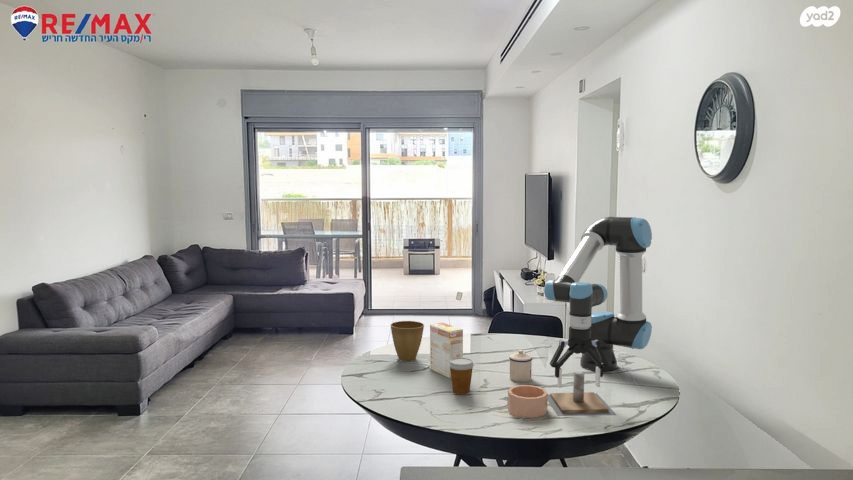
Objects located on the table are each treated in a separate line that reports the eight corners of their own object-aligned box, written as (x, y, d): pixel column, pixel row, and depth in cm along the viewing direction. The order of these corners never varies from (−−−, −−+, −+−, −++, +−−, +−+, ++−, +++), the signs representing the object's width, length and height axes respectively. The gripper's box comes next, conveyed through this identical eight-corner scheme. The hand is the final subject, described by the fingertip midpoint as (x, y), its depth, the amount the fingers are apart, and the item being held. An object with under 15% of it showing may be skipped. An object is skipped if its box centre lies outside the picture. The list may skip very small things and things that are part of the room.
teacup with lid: (535, 381, 232) (536, 352, 231) (514, 383, 230) (514, 354, 229) (523, 371, 244) (523, 344, 243) (503, 373, 242) (503, 346, 241)
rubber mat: (596, 394, 217) (596, 393, 217) (616, 416, 197) (616, 414, 197) (543, 396, 216) (543, 394, 216) (557, 417, 197) (557, 415, 197)
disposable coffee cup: (447, 387, 226) (447, 357, 224) (471, 387, 226) (471, 356, 225) (450, 396, 216) (450, 365, 215) (475, 395, 217) (475, 364, 216)
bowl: (541, 403, 209) (541, 384, 208) (550, 418, 196) (551, 398, 195) (505, 404, 208) (505, 385, 208) (512, 419, 196) (512, 398, 195)
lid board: (593, 395, 215) (594, 365, 214) (608, 412, 199) (609, 380, 198) (550, 396, 215) (550, 366, 213) (562, 413, 199) (562, 381, 198)
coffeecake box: (463, 375, 240) (463, 329, 238) (449, 379, 236) (449, 331, 234) (443, 366, 252) (443, 321, 250) (429, 369, 248) (429, 324, 247)
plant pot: (412, 366, 252) (412, 330, 251) (384, 360, 260) (383, 325, 258) (430, 357, 265) (430, 322, 263) (403, 352, 272) (402, 318, 271)
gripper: (547, 329, 200) (545, 390, 202) (619, 329, 201) (617, 389, 203) (542, 324, 207) (540, 382, 209) (611, 324, 208) (609, 382, 210)
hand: (578, 386), depth 206 cm, fingers open, 13 cm apart
